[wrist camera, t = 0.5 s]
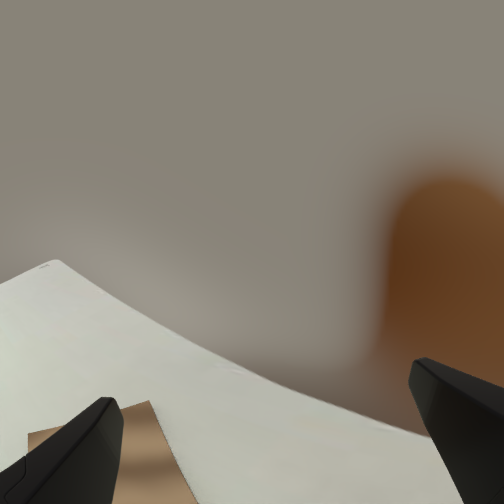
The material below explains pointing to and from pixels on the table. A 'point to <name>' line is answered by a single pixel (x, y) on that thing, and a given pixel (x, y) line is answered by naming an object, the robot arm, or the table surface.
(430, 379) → the robot arm
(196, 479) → the table surface
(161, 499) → the coaster board
